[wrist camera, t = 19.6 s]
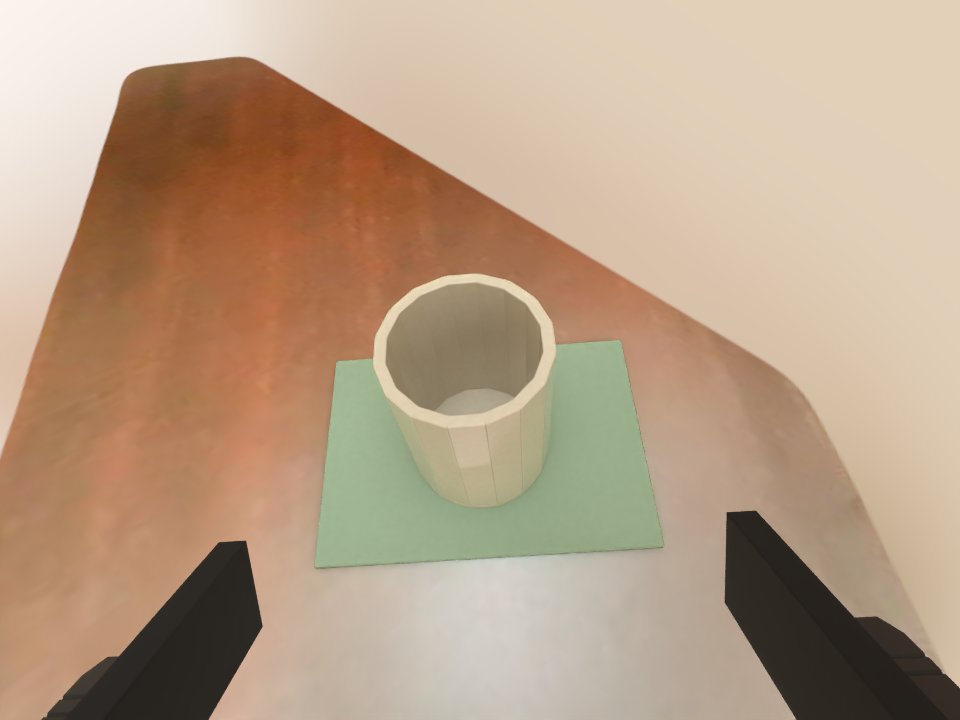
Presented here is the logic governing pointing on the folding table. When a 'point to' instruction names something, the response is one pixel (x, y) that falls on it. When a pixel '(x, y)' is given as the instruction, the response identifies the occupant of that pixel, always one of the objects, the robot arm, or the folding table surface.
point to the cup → (470, 385)
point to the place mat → (502, 529)
